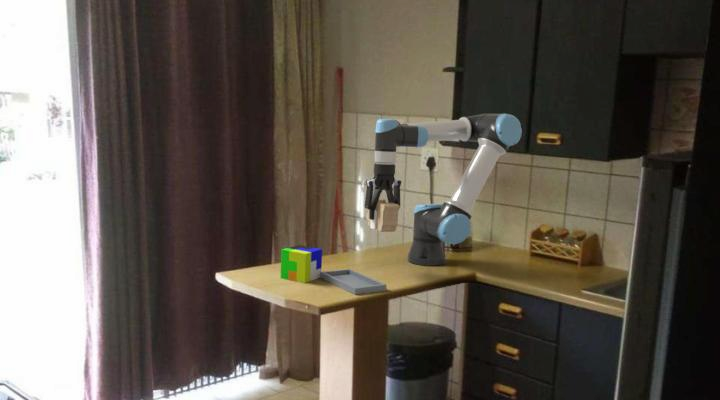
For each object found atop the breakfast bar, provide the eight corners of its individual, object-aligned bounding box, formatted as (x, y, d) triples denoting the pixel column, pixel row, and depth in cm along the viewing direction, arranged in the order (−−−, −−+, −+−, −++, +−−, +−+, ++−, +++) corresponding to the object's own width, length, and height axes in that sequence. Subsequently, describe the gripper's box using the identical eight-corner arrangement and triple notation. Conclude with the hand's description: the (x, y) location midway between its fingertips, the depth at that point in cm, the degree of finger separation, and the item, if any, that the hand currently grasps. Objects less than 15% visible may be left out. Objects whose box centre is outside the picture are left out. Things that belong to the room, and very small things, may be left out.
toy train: (379, 224, 234) (381, 198, 233) (398, 233, 218) (399, 204, 217) (365, 225, 232) (367, 198, 231) (383, 233, 216) (384, 204, 215)
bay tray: (320, 277, 220) (320, 271, 220) (349, 274, 226) (349, 268, 226) (354, 294, 201) (355, 288, 200) (386, 290, 207) (386, 284, 207)
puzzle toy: (321, 277, 221) (322, 249, 219) (304, 283, 212) (305, 253, 211) (297, 272, 226) (298, 245, 224) (280, 278, 217) (281, 249, 216)
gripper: (401, 162, 231) (397, 225, 234) (355, 162, 220) (352, 227, 223) (413, 164, 224) (409, 228, 227) (367, 164, 214) (364, 231, 217)
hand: (381, 228), depth 225 cm, fingers closed on toy train, 6 cm apart
